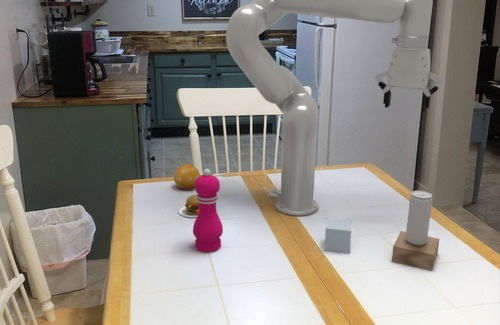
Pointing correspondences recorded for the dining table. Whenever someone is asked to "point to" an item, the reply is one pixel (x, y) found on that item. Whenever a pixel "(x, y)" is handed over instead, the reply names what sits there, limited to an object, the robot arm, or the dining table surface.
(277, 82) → the robot arm
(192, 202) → the hamburger
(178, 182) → the fruit
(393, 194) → the dining table surface
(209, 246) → the pepper mill
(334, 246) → the grey-blue block
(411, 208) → the beverage can
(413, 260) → the walnut block
